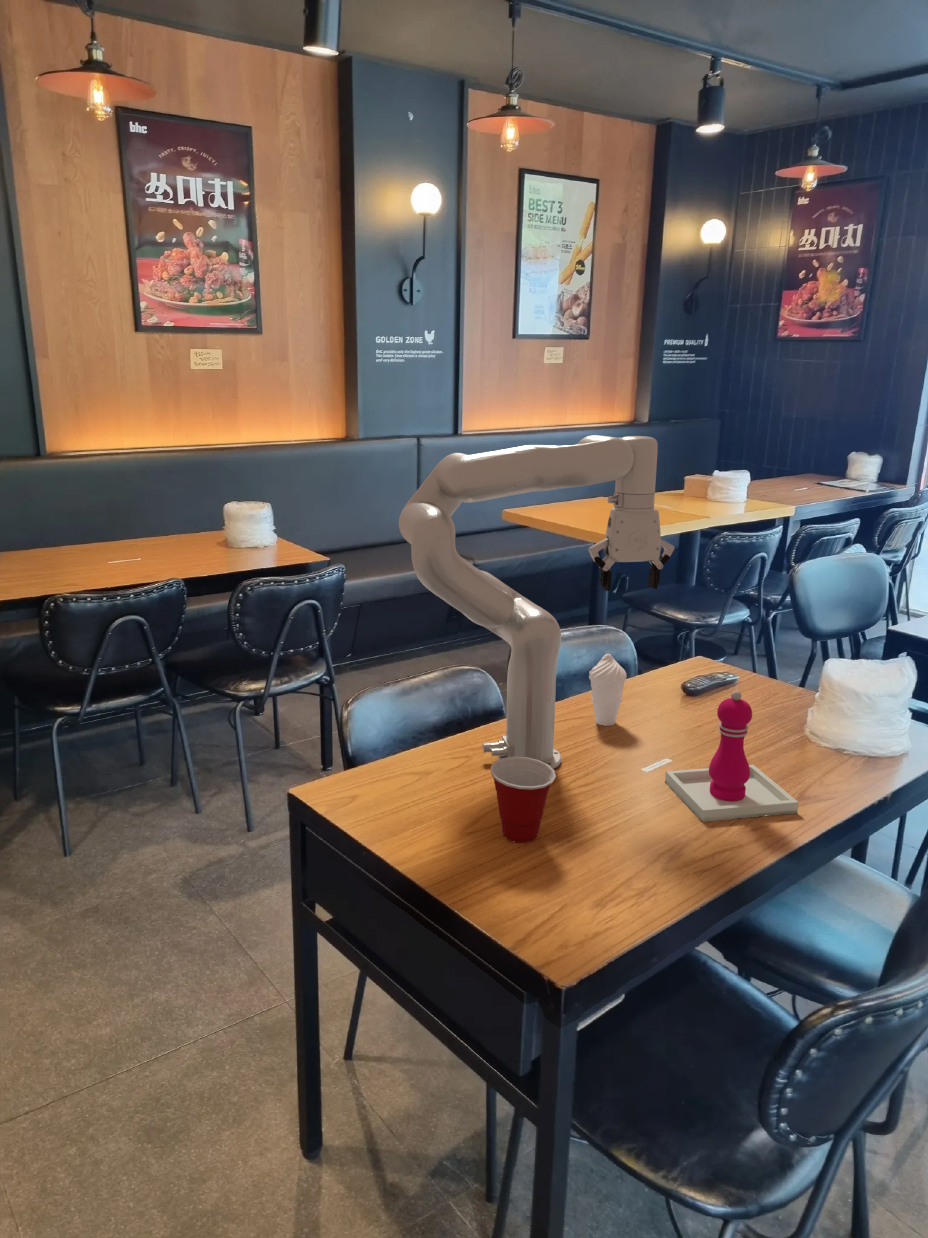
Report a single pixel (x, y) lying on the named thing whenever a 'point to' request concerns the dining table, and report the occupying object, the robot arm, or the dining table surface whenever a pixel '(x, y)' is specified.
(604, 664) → the soft serve ice cream cone
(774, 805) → the tray
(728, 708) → the pepper mill
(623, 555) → the robot arm
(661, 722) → the dining table surface
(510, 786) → the plastic cup
